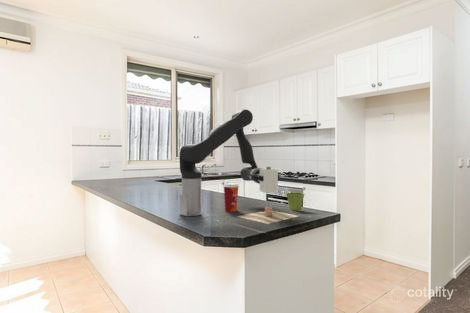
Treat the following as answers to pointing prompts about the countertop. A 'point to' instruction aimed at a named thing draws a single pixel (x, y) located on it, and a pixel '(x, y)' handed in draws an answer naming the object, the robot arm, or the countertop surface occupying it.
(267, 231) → the countertop surface
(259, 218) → the board
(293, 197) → the plant pot
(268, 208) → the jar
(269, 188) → the white upright block
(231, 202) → the paper cup
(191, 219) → the countertop surface
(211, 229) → the countertop surface
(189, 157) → the robot arm
